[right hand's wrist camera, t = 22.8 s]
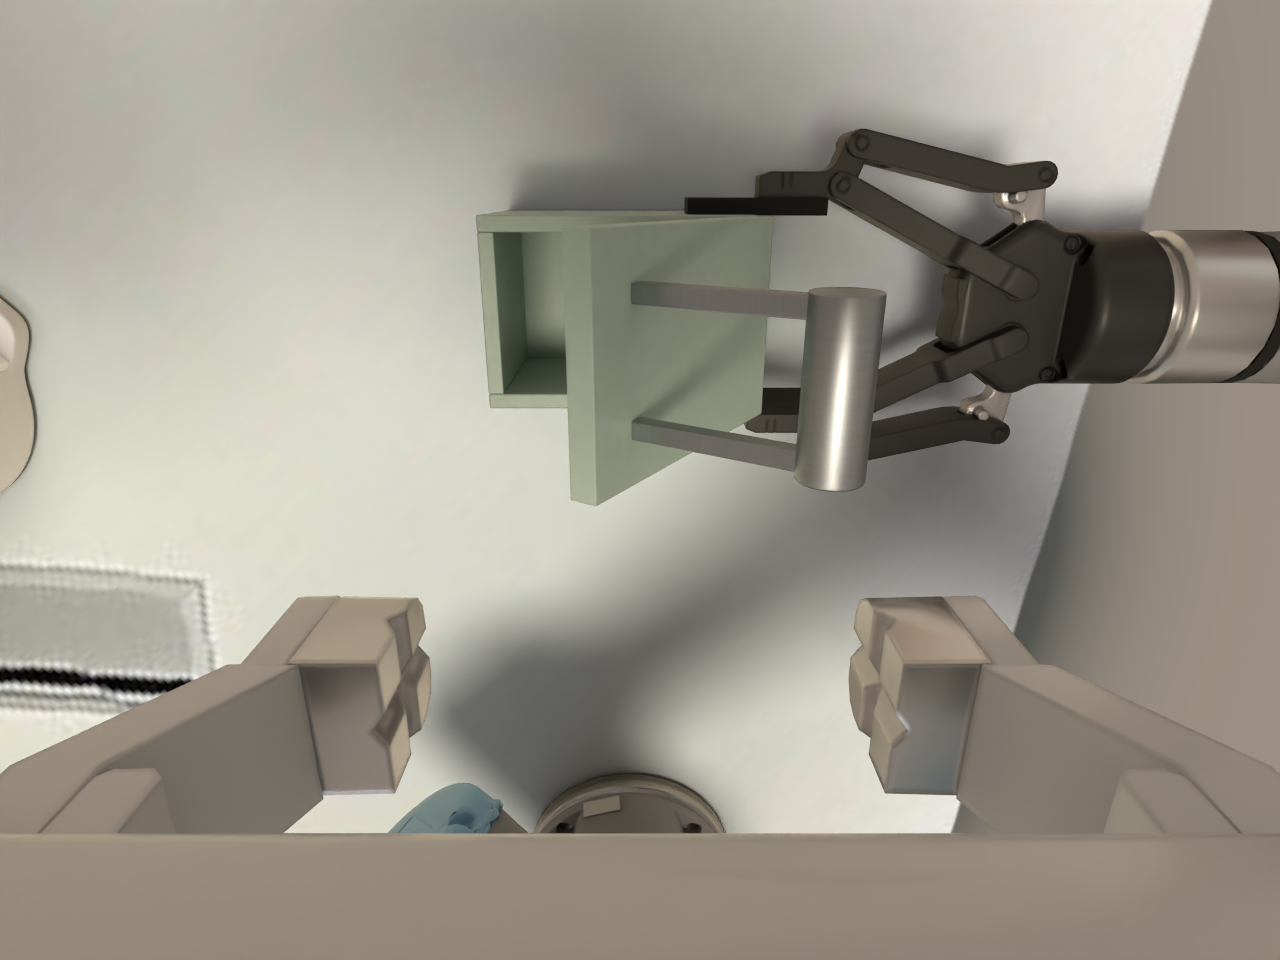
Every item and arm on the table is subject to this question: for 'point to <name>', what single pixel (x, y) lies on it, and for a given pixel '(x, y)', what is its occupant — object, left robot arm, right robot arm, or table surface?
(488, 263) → the chest
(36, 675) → the table surface
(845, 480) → the box cover with handle
